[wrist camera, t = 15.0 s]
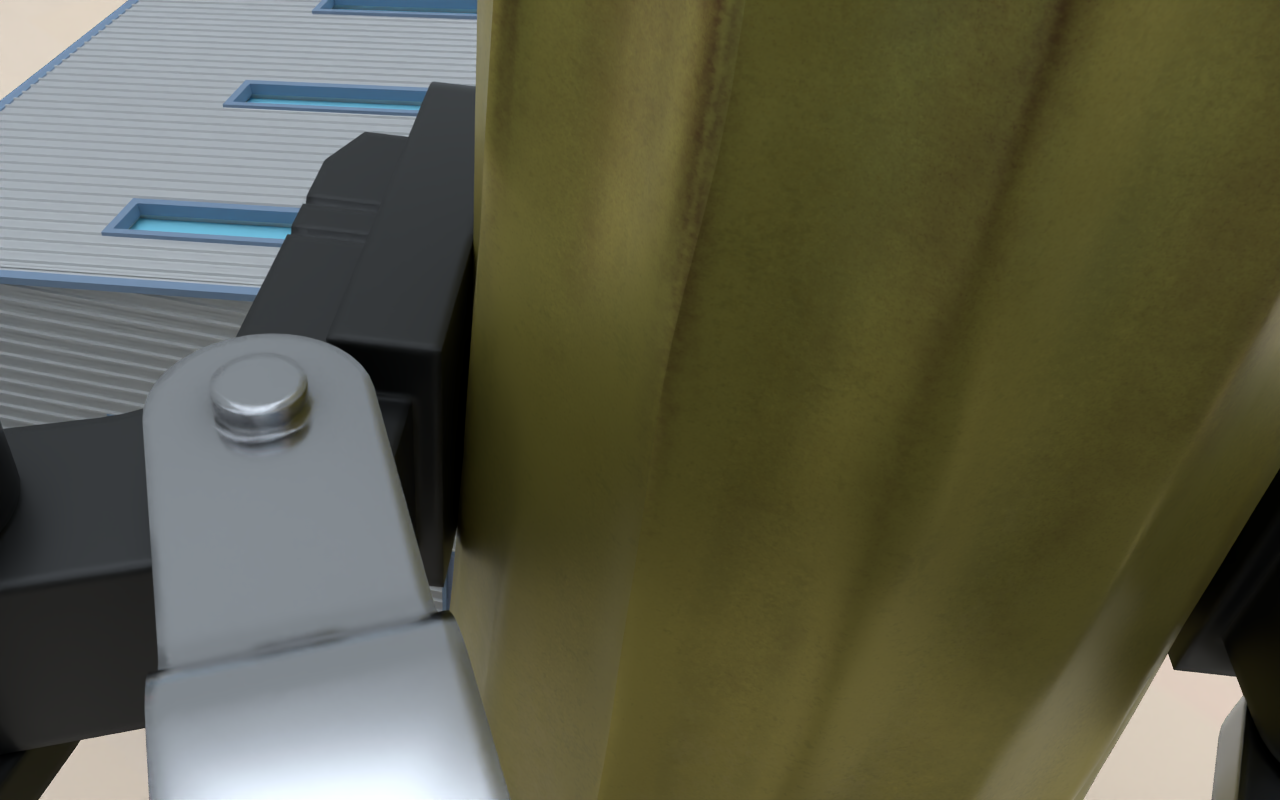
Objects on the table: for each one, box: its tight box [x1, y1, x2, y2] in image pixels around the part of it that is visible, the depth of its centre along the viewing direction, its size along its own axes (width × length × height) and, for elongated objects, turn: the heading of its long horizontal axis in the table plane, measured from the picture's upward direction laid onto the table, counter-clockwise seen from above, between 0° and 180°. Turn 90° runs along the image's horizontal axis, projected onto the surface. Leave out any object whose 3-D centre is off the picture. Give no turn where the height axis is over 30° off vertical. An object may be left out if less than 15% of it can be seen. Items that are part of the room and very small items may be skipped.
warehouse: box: [0, 0, 477, 612], centre depth 30 cm, size 30×14×8 cm, turn 171°
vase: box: [449, 0, 1280, 800], centre depth 9 cm, size 6×6×14 cm
